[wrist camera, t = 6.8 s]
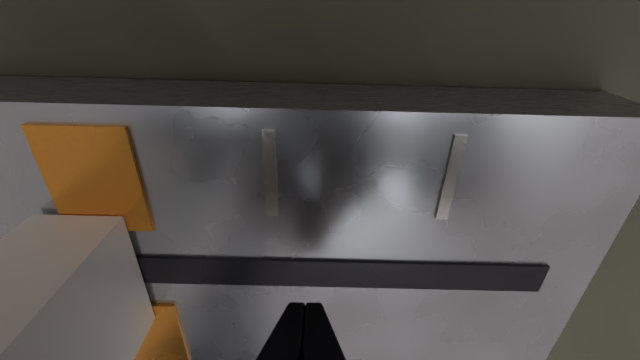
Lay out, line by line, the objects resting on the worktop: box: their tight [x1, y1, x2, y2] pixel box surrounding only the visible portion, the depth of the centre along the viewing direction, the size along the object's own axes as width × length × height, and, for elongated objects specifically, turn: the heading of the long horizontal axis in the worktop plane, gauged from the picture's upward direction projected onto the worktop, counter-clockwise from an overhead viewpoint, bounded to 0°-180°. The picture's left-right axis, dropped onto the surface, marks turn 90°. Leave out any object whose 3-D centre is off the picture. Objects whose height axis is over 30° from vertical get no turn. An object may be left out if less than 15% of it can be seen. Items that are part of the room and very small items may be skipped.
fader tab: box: [0, 214, 155, 360], centre depth 8 cm, size 4×2×5 cm, turn 179°
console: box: [0, 76, 640, 360], centre depth 11 cm, size 10×18×3 cm, turn 89°
